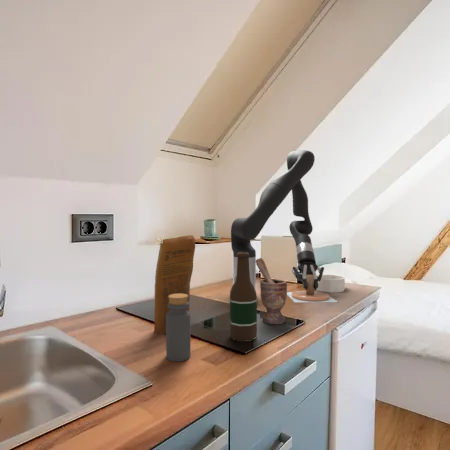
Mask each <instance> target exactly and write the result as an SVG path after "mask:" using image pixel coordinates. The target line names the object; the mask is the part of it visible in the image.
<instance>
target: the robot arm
mask: <svg viewBox="0 0 450 450" xmlns="http://www.w3.org/2000/svg"><path fill="white" fill-rule="evenodd" d="M314 164H315V154H314V153H313V152H312V151H309V150H305V149H304V150H292V151H290V152H289V153H288V155H287V158H286V166H287V171H285V172H284V173H282V174H280V175H278V176H277V177H275V178H274V179H273V180H271V181H270V183H269V184H268V185H267V186H266V187H265V188H264V190H263V191H262V193H261V195H260V197H259V201H258V205H257V206H256V208H255V209H254V210H253V211H252V212H251V213H250V215H248V216H247V217H238V218H235V219H234V220H233V222H232V224H231V226H230V240H231V241H230V243H231V251H232V253H233V260H232V261H233V264H232V265H233V268H232V270H233V273H232V285H233V284H234V283H235V281H236V276H237V259H238V257H237V253H239V252H247V253H249V255H250V257H249V271H250V280H251V283H252V284H253V286H254V288H255V291H257V290H256V289H257V288H256V287H257V285H256V284H257V281H256V280H257V270H256V269H257V267H256V266H257V264H256V260H257V258H256V254H257V253H256V249H255V248H254V247H253V246H252V243H251V241H253V240H254V239H256V238H257V237H258V236H259V235H260V233H261V232H262V230H263V229H264V227H265V225H266V223H267V222H268V221H269V219H270V217H271V216H272V215H273V214H274V213H275V212H276V210H277V209H278V207H279V206H280V205H281V204H282V202H283V201H284V200H285V199H286V198H287V196H288V195H289V193H290V192H291V196H292V212H293V215H294V216H295V217H300V218H303V219H304V220H294V221H291V222H290V224H289V225H288V226H289V233H290V235H291V236H292V238H293V239H294V242H295V249H296V251H295V252H296V259H297V266H296V267H295V266H293V267H292V270H291V271H292V274H293V275H294V277H295V279H296V280H297V281H298V282H301V283H302V288H303V289H304V290H307V281H306V275H308V274H311V275H314V291H318V290H317V288H318V281H321V277H322V275H324V274H323V273H324V272H325V267H324V266H321V267H319V266H318V264H317V262H316V257H315V251H314V248H313V244H312V243H313V242H312V239H311V236H310V235H311V234H312V232H313V228H314V227H313V225H312V221H311V218H310V215H309V214H310V213H309V198H308V193H307V191H306V189H305V188H304V185H303V184H302V179H303V178H304V177H305V175H306V174H308V173H309V172H310V170H311V169H312V167H314ZM317 271H318V272H317ZM299 272H300V273H301V274H300V273H299ZM316 272H317V273H319V274H318V275H319V277H317V276H316V275H317V273H316ZM301 275H302V276H301Z"/></svg>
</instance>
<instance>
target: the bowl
mask: <svg viewBox="0 0 450 450" xmlns="http://www.w3.org/2000/svg"><path fill="white" fill-rule="evenodd" d="M316 276H317V277H319V274H316ZM345 285H346V279H345V277H344V276H341V275H337V274H336V275H334V274H322V277H321V281H318V288H317V290H316V291H319V292H324V293H342V292H344V291H345V287H346V286H345Z"/></svg>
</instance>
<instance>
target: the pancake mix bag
mask: <svg viewBox="0 0 450 450" xmlns="http://www.w3.org/2000/svg"><path fill="white" fill-rule="evenodd" d="M195 250H196V239H195V237H194V235H193V234H191V235H190V234H189V235H183V236H178V237H170V238H165V239H162V242H161V243H160V245H159V250H158V255H157V260H156V261H157V262H156V269H155V276H154V280H155V283H154V313H153V315H154V316H153V318H154V319H153V320H154V326H153V327H154V329H153V334H156V333H161V334H166V314H167V313H168V312H169V311H170V309H169V308H168V303H169V297H168V296H169V295H171V294H178V293H181V294H187V295H188V299H187V302H188V303H189V304H190V297H191V296H190V295H191V294H190V292H191V289H190V287H191V280H192V275H193V269H194V257H195ZM186 310H187V311H189V312H190V306H189V307H188V308H186ZM156 335H157V334H156Z"/></svg>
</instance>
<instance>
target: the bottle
mask: <svg viewBox="0 0 450 450" xmlns="http://www.w3.org/2000/svg"><path fill="white" fill-rule="evenodd" d="M168 297H169V303H168V308H169V309H170V311H169V312H168V313H167V314H166V333H165V340H166V343H165V346H166V347H165V348H166V349H165V352H166V357H165V358H166V359H167V360H168V361H170V362H185V361H186V360H189V359H190V357H191V322H190V321H191V312H190V310H189V311H187V310H186V308H188V307H189V308H190V302H189V303H188V302H187V299H188V295H187V294H181V293H178V294H171V295H169V296H168Z"/></svg>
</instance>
